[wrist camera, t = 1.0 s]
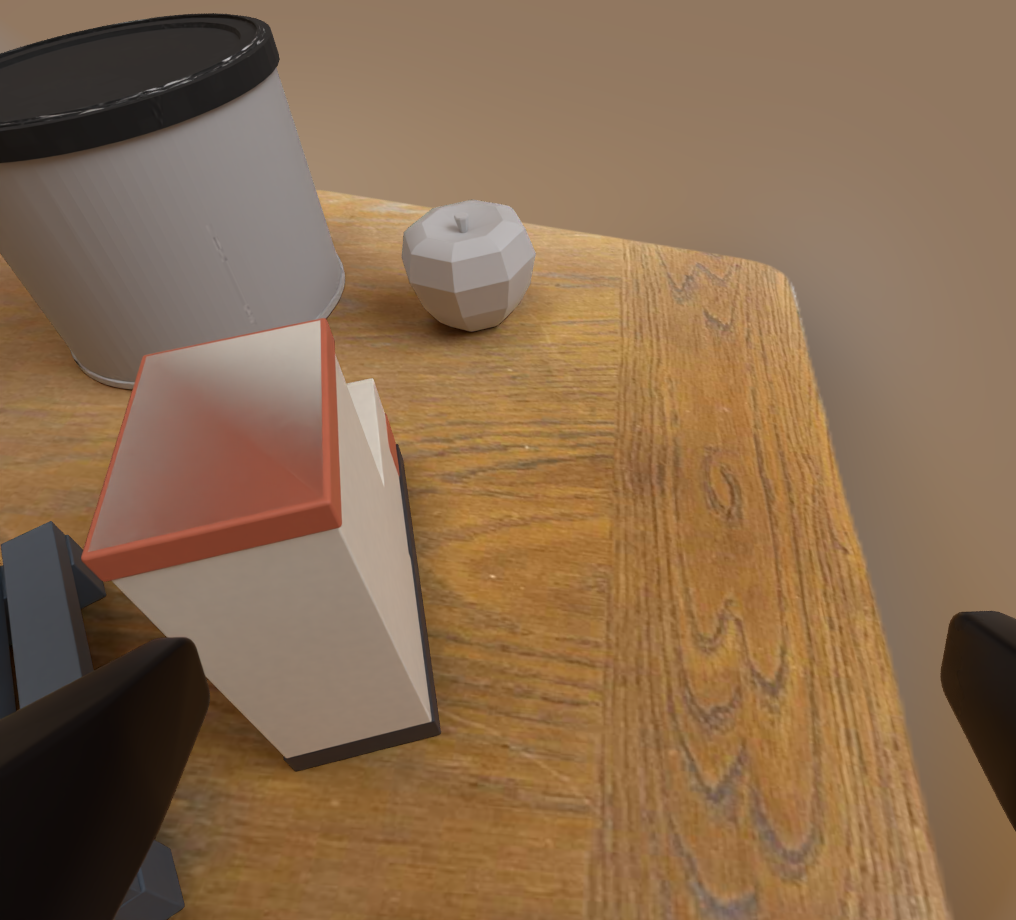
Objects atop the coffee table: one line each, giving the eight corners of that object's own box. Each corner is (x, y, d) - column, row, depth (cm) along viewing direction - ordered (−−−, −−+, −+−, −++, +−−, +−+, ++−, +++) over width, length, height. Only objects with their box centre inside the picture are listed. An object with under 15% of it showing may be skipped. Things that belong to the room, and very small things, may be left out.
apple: (400, 354, 39) (373, 253, 34) (429, 282, 44) (408, 186, 40) (533, 353, 38) (524, 249, 33) (546, 280, 43) (539, 180, 38)
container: (217, 423, 36) (53, 144, 25) (11, 357, 43) (-186, 116, 33) (399, 255, 47) (338, 10, 37) (211, 223, 54) (114, 11, 44)
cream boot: (441, 737, 23) (331, 502, 14) (295, 775, 23) (78, 560, 13) (403, 459, 33) (322, 210, 23) (300, 482, 32) (177, 239, 23)
